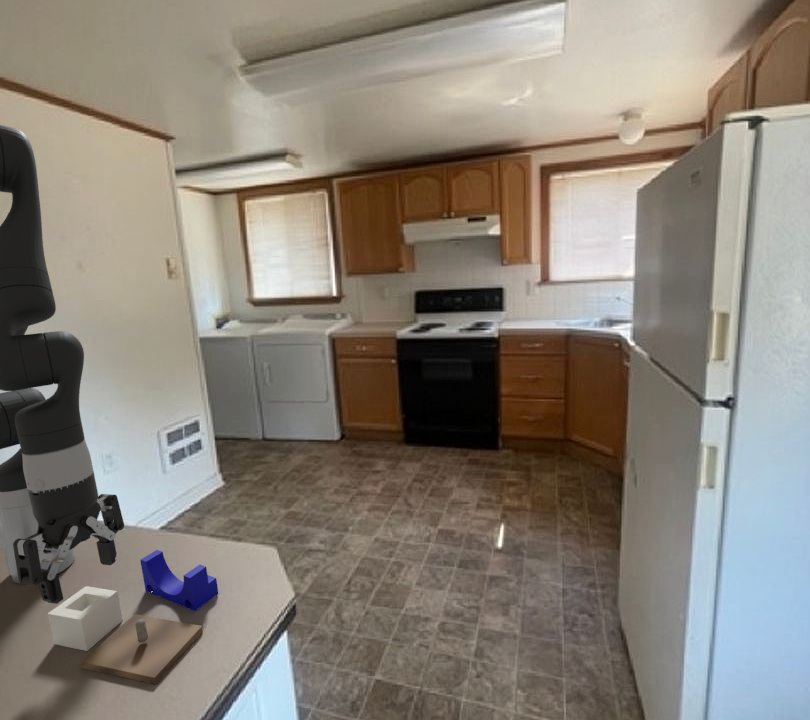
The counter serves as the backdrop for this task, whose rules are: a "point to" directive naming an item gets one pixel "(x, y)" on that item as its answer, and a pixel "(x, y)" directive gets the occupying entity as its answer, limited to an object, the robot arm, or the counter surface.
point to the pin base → (143, 648)
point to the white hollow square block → (85, 618)
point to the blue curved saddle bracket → (178, 582)
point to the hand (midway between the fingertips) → (83, 581)
